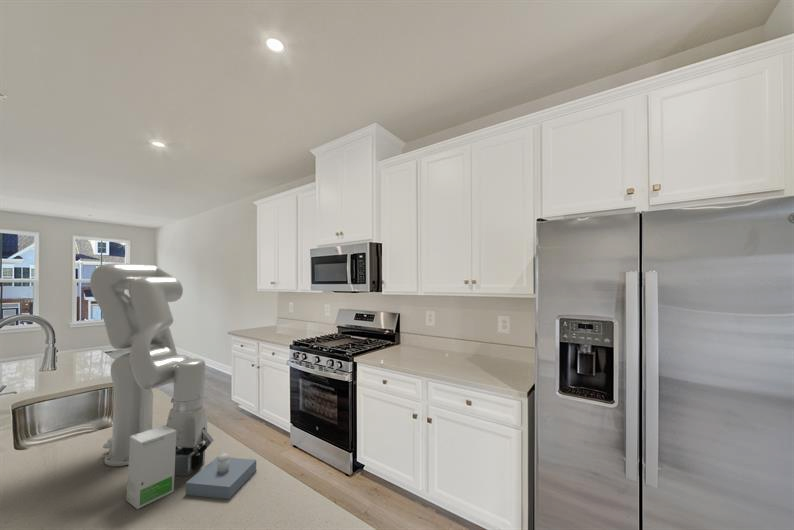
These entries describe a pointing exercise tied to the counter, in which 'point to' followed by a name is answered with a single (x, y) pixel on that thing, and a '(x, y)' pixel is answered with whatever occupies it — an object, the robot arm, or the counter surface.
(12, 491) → the counter surface
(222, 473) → the shaft block
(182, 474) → the grey open box
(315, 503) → the counter surface
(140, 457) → the skincare box
